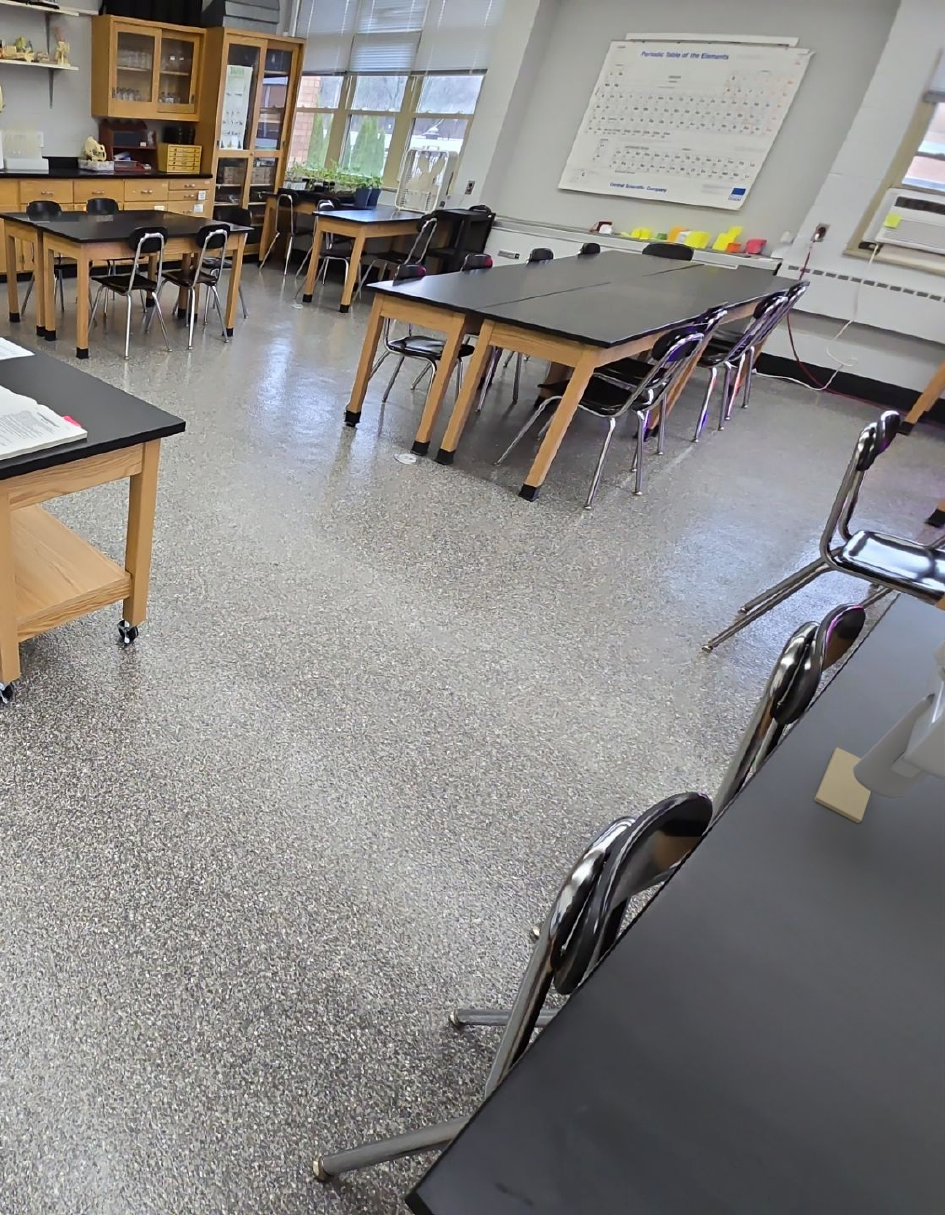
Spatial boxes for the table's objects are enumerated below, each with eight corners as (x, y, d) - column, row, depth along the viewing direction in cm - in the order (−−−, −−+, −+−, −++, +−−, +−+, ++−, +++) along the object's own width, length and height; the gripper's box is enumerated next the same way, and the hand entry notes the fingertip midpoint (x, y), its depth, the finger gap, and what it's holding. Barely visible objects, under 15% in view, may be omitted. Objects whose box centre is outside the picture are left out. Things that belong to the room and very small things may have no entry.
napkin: (834, 750, 97) (837, 747, 96) (876, 770, 94) (879, 767, 94) (813, 800, 89) (816, 797, 89) (858, 823, 87) (861, 820, 86)
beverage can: (840, 773, 82) (914, 698, 74) (864, 762, 83) (939, 687, 76) (888, 806, 78) (971, 730, 71) (913, 793, 80) (996, 718, 73)
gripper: (1045, 730, 62) (930, 827, 71) (1052, 637, 74) (952, 730, 82) (949, 691, 66) (851, 788, 74) (970, 608, 77) (883, 700, 86)
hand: (904, 757), depth 78 cm, fingers closed on beverage can, 5 cm apart
